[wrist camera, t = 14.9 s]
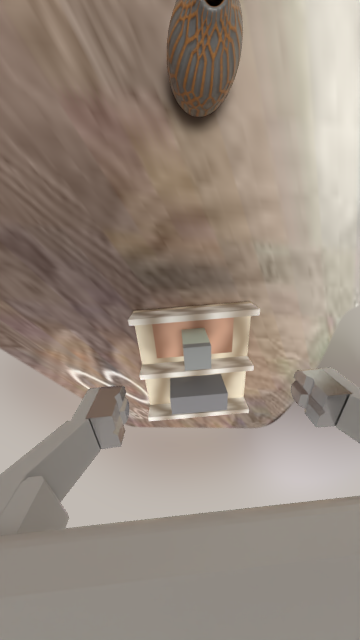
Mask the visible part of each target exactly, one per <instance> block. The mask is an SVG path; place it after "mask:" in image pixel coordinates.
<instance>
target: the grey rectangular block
mask: <svg viewBox="0 0 360 640" xmlns="http://www.w3.org/2000/svg"><path fill="white" fill-rule="evenodd" d="M182 343H183V355H184V365H185V371H188V370H200V369H211V344H210V341H209V339H208V336H207V333H206V331H205V328H195V329H183V330H182Z"/></svg>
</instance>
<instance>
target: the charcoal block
mask: <svg viewBox="0 0 360 640" xmlns="http://www.w3.org/2000/svg"><path fill="white" fill-rule="evenodd" d="M170 402H171V410H172V415H173V414H185V413H197V412H209V411H221V410H227V402H228V392H227V390H226V387H225V384H224V381H223V379H222V376H221V374H212V375H200V376H188V377H177V378H170Z"/></svg>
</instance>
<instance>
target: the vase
mask: <svg viewBox="0 0 360 640" xmlns="http://www.w3.org/2000/svg"><path fill="white" fill-rule="evenodd" d="M242 37H243V23H242V12H241V7H240V2H239V0H177V1H176V3H175V6H174V9H173V13H172V16H171V20H170V25H169V30H168V38H167V68H168V76H169V81H170V85H171V88H172V91H173V94H174V96H175V98H176V100H177V102H178V104H179V105H180V106H181V108H182V109H183V110H184V111H185V112H186V113H188V114H190V115H192V116H195V117H203V116H206V115H209V114H210V113H212V112H213V111H215V110H216V109H217V108H218V107H219V106H220V105H221V103H222V102H223V101H224V99H225V98H226V96H227V94H228V92H229V90H230V88H231V86H232V84H233V81H234V79H235V76H236V73H237V69H238V66H239V61H240V56H241V49H242Z"/></svg>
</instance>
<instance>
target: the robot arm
mask: <svg viewBox="0 0 360 640" xmlns="http://www.w3.org/2000/svg"><path fill="white" fill-rule="evenodd" d="M294 378H295V380H296V381H295V382H294V383H293V384H292V386H291V393H292V397H293V399H294V400H295V402H296V403H297V404H298V405H299V406H301V407H302V408H304V409H305V414H306V416H307V417H308V418H309V419H310V420H311V422H312V423H313V424H314V425H315V426H316V427H328V426H336V427H337V428H338V429H339V430H341V431H342V432H344V433H345V434H347V435H348V436H350V437H351V438H353V439H354V440H356V441H357V442H358V443H360V388H359V387H357V386H356V385H355V384H353V383H352V382H351V381H349V380H348V379H347V378H345V377H344V376H343V375H341V374H340V373H339V372H337V371H336V370H335V369H333V368H330V367H326V368H318V369H317V368H316V369H306V370H297V371H296V372H295V374H294ZM125 394H126V390H125V387H124V386H112V387H101V388H90V389H89V390H88V391H87V392H86V394H85V396H84V398H83V400H82V401H81V403H80V405H79V407H78V409H77V410H76V412H75V414H74V416H73V417H72V419H71V421H66V422H65V423H64V424H63V425H61V426H60V427H59V428H58V429H56V430H55V431H54V432H53V433H51V434H50V435H49V436H48V437H46V438H45V439H44V440H43V441H42V442H40V443H39V444H38V445H37V446H35V447H34V448H33V449H32V450H30V451H29V452H28V453H27V454H26V455H24V456H23V457H22V458H20V459H19V460H18V461H17V462H15V463H14V464H13V465H12V466H10V467H9V468H8V469H7V470H5V471H4V472H3V473H2V474H0V640H360V496H353V497H345V498H335V499H326V500H317V501H309V502H299V503H290V504H282V505H272V506H263V507H254V508H245V509H236V510H227V511H218V512H208V513H199V514H191V515H181V516H172V517H164V518H154V519H145V520H136V521H127V522H118V523H110V524H101V525H91V526H82V527H74V528H66V525H67V522H68V519H69V516H68V513H67V512H66V510H65V509H64V507H63V506H62V504H61V503H60V502H61V501H62V500H63V498H64V497H65V496H66V494H67V493H68V492H69V490H70V489H71V488H72V487H73V485H74V484H75V483H76V481H77V480H78V479H79V478H80V476H81V475H82V474H83V472H84V471H85V470H86V469H87V467H88V466H89V465H90V463H91V462H92V461H93V460H94V458H95V457H96V456H97V454H98V453H99V452H100V449H105V448H113V447H120V446H121V445H122V441H123V437H124V433H125V429H124V424H125V423H126V422H127V420H128V415H129V402H128V399H127V398H126V397H125Z"/></svg>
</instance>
